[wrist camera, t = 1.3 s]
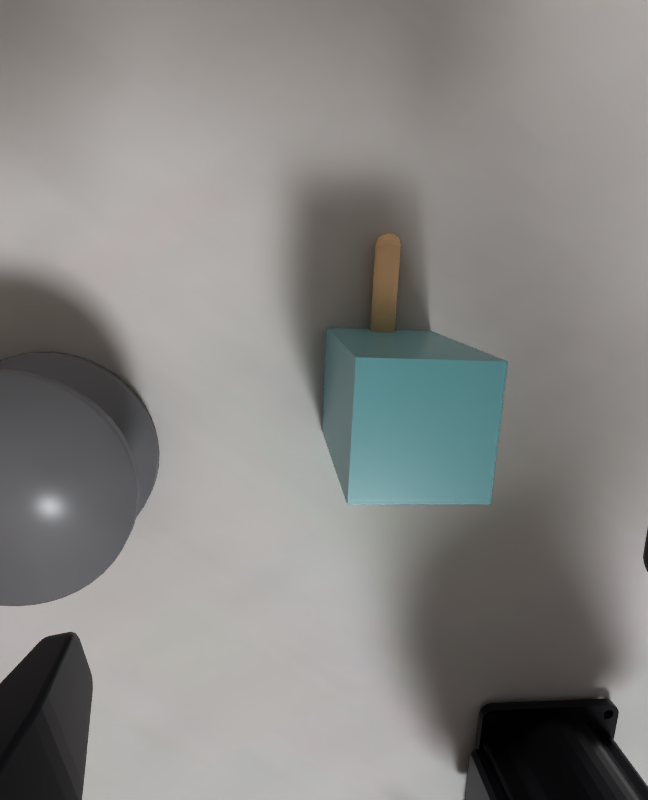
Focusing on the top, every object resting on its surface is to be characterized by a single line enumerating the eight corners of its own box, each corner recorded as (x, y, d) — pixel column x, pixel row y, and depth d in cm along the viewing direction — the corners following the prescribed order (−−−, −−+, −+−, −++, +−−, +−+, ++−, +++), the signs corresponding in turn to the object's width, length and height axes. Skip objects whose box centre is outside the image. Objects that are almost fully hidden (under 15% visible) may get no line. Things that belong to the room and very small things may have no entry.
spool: (156, 354, 20) (130, 376, 17) (161, 544, 22) (139, 603, 18) (-66, 349, 20) (-148, 369, 16) (-43, 546, 21) (-111, 608, 17)
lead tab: (438, 236, 20) (524, 222, 14) (422, 431, 22) (490, 504, 15) (330, 231, 20) (363, 214, 13) (321, 430, 22) (347, 504, 15)
